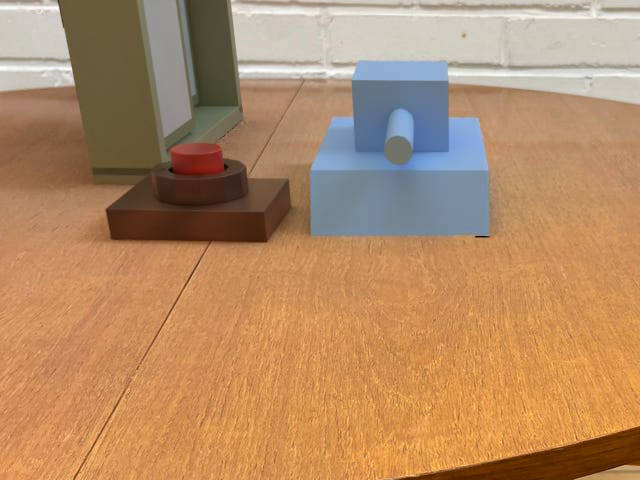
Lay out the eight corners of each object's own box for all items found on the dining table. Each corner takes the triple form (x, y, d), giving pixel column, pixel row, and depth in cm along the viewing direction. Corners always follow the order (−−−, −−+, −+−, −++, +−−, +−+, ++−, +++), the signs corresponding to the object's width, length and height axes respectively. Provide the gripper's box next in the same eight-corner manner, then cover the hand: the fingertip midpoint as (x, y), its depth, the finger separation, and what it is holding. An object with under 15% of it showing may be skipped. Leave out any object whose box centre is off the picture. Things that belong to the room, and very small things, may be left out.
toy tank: (493, 104, 64) (299, 103, 64) (491, 241, 69) (310, 242, 69) (479, 53, 83) (328, 52, 82) (477, 164, 88) (335, 163, 87)
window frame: (94, 184, 80) (45, -64, 71) (188, 117, 104) (161, -75, 95) (165, 186, 80) (127, -63, 71) (243, 118, 104) (222, -74, 95)
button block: (111, 240, 68) (99, 182, 66) (151, 204, 75) (142, 151, 73) (267, 243, 68) (261, 185, 65) (291, 207, 75) (286, 154, 73)
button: (166, 179, 68) (163, 153, 67) (181, 166, 71) (177, 142, 70) (217, 180, 68) (214, 154, 67) (230, 167, 71) (227, 142, 70)
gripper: (41, -275, 72) (97, 36, 83) (146, -238, 93) (180, 6, 104) (-59, -276, 72) (11, 35, 83) (69, -239, 93) (111, 5, 104)
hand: (105, 19), depth 94 cm, fingers open, 13 cm apart
